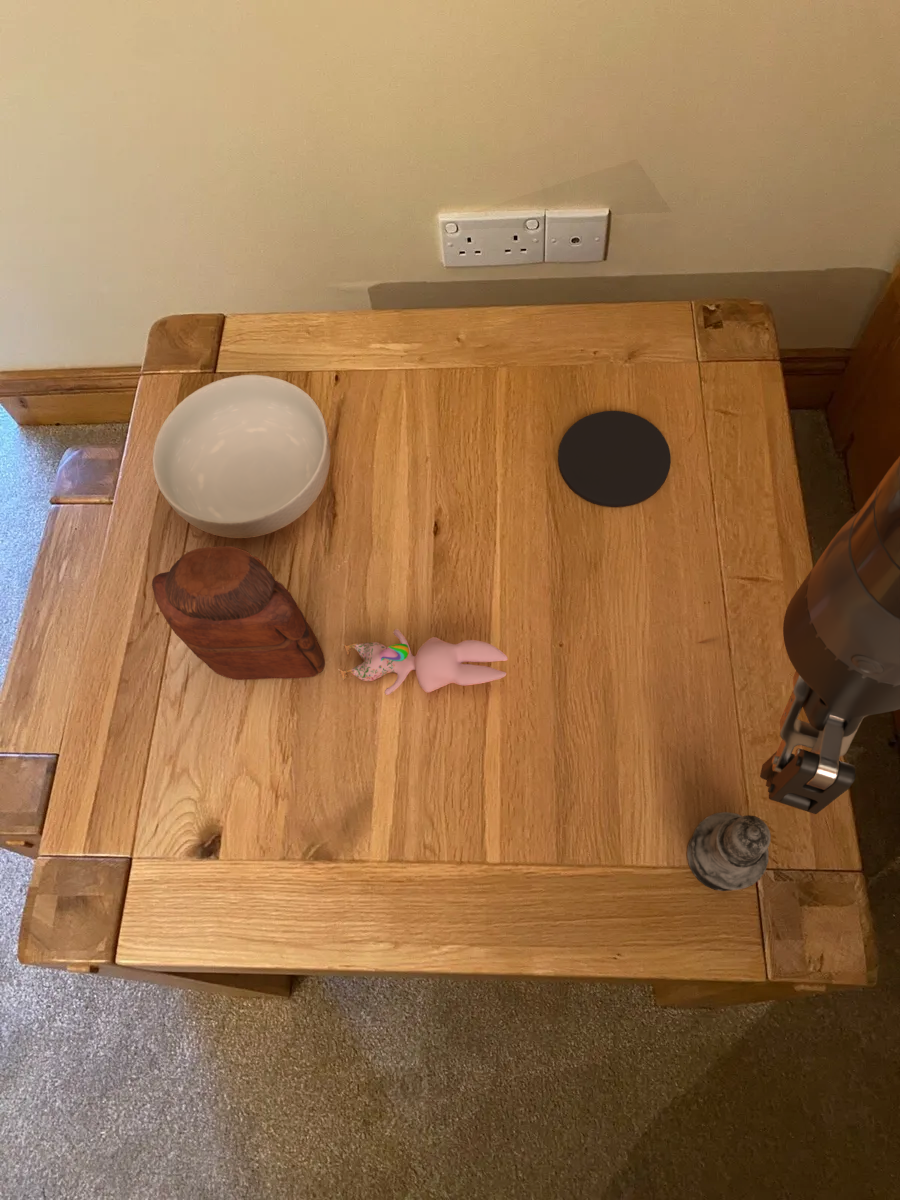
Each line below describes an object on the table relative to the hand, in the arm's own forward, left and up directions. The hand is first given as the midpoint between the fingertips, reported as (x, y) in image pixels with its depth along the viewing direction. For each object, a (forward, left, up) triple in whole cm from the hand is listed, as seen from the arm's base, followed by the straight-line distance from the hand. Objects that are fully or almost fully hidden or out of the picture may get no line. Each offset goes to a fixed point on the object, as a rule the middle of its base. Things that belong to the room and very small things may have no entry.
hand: (792, 711), depth 54 cm
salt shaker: (+2, +5, -22) cm, 23 cm away
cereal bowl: (+28, -44, -22) cm, 57 cm away
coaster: (-6, -33, -22) cm, 40 cm away
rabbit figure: (+19, -19, -22) cm, 35 cm away
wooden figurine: (+32, -26, -22) cm, 47 cm away
